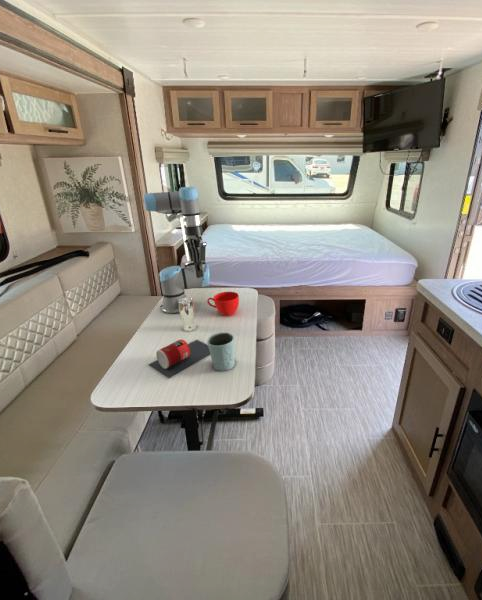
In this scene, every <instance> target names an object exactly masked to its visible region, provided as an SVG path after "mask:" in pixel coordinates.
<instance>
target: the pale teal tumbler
mask: <svg viewBox="0 0 482 600" xmlns="http://www.w3.org/2000/svg"><path fill="white" fill-rule="evenodd" d="M206 340H207V341H206V344H207V345H208V347H209V350H210V357H211V358H210V359H211V362H212V366H213V368H214V369H215V370H216V371H218V372H226V371H228V370H230V369H232V368H234V367H235V363H236V362H235V361H236V360H235V336H234V335H233V334H232V333H230V332H218V333H214V334H212V335H210V336H209V337H208V338H207V339H206Z"/></svg>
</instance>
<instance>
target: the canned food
mask: <svg viewBox="0 0 482 600" xmlns="http://www.w3.org/2000/svg"><path fill="white" fill-rule="evenodd" d="M188 344H189V343H188V342H187V341H186V340H185V339H177V340H175V341H173V342H172V343H170V344H168V345H166V346H164V347H162V348H160V349H158V350H157V351H156V353H155V354H156V355H155V357H156V359H157V360H158V362H159V364H160V365H161V366H162V367H163V368H165V369H167V368H169V367H171V366H172V365H174V364H176V363H178V362H180V361H181V360H183V359H185V358H187V357H188V356H189V355H190V348H189V346H188ZM157 360H156V361H157Z"/></svg>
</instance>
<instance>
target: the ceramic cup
mask: <svg viewBox="0 0 482 600" xmlns="http://www.w3.org/2000/svg"><path fill="white" fill-rule="evenodd" d="M210 300H211V301H213V302H214V304H212V303H211V302H210ZM206 301H207V304H208V305H209V306H211V307H212V308H214V309H216V310H217V311H218V313H219V314H221V315H222V316H224V317H230V316H233V315H235V313H236V312H237V310H238V308H239V303H240V296H239V294H238V292H235V291H222V292H219V293H216V294H214V295H213V297H208V298H207V300H206Z"/></svg>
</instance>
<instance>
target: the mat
mask: <svg viewBox="0 0 482 600" xmlns="http://www.w3.org/2000/svg"><path fill="white" fill-rule="evenodd" d="M187 344H188V346H189V348H190V355H189V356H188V357H187V358H185V359H183V360H181V361H180V362H178V363H176V364H174V365H172V366H171V367H169V368H167V369H165V368H163V367H162V366H161V365H160V364H159V362H158V360H154V361H152V362H151V363H149V364H148V365H149V366H150V367H151V368H152V369H155V370H156V371H158V372H159V373H160V374H162V375H163V376H165V377H166V378H168V379H170V378H171V377H173V376H175V375H177V374H179V373H180V372H182V371H184V370H186V369H187V368H189V367H190V366H192V365H194V364H196V363H198V362H199V361H201V360H203V359H204V358H206V357H208V356H211V354H210V350H209V347H208V344H207V343H204V342H202V341H200V340H198V339H196V340H194V341H192V342H190V343H187Z"/></svg>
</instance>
